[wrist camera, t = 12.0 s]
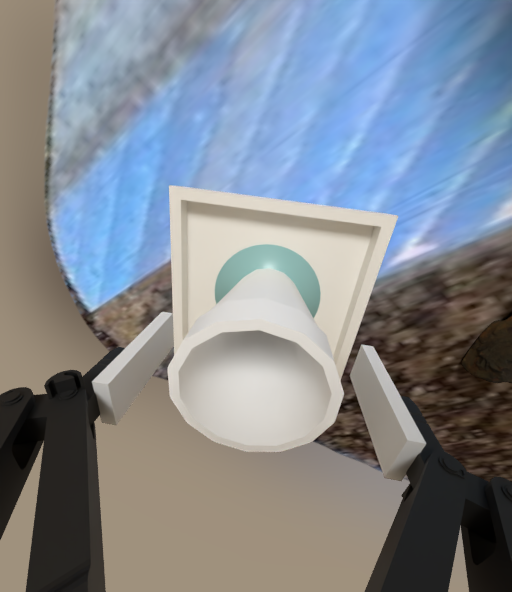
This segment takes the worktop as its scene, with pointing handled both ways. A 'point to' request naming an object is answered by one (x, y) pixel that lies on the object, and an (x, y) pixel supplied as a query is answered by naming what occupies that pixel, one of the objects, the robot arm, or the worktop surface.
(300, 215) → the square white tray
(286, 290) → the foam cup
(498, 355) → the hand tool
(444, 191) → the worktop surface
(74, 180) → the worktop surface
